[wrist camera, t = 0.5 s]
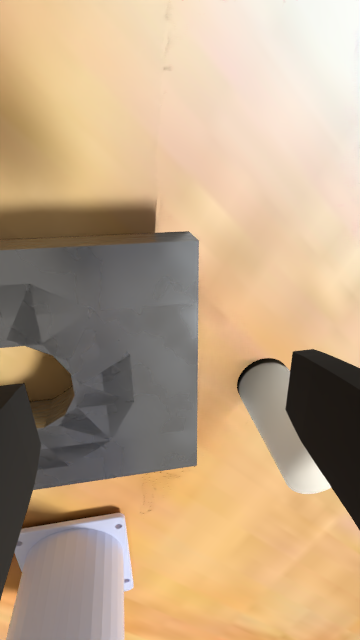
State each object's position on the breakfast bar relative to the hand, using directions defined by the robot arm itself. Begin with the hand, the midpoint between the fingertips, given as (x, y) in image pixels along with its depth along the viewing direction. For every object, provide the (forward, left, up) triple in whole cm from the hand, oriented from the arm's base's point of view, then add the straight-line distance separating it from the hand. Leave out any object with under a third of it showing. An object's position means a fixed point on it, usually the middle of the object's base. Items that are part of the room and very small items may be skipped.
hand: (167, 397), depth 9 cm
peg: (-7, -8, -10) cm, 14 cm away
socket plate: (-4, +7, -10) cm, 13 cm away
